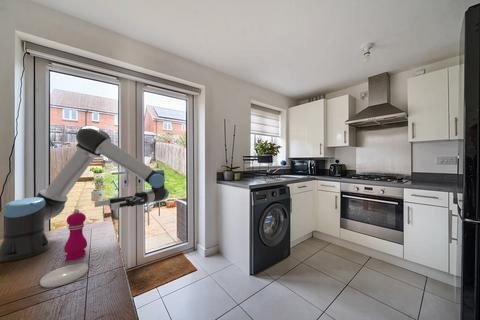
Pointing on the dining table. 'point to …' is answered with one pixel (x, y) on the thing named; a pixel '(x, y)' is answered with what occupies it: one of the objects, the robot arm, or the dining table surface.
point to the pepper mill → (75, 237)
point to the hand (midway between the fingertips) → (102, 205)
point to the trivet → (64, 275)
